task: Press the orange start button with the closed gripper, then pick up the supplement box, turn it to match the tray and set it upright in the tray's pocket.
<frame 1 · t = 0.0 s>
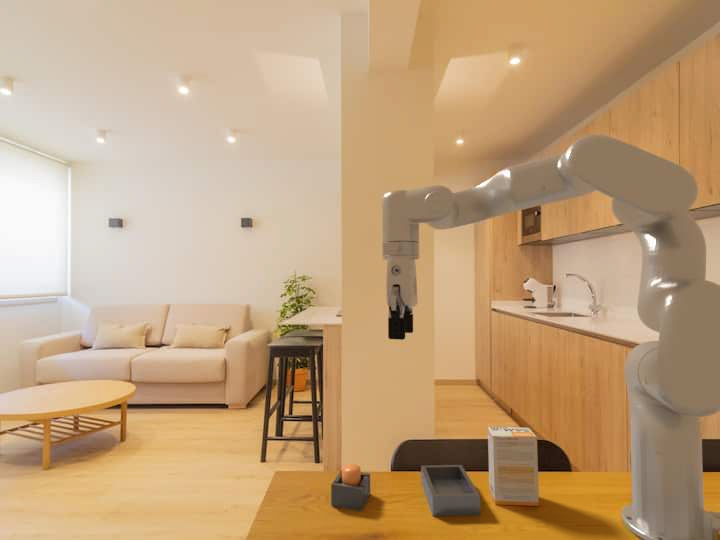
hand: (401, 335, 79), 31 cm above the table, tool pointing down, fingers open, 9 cm apart
start button: (351, 478, 75), point 4 cm above the table, slide at 0.0 cm
supplement box: (512, 500, 75), on the table
button housing: (351, 499, 75), on the table
tray: (448, 497, 75), on the table
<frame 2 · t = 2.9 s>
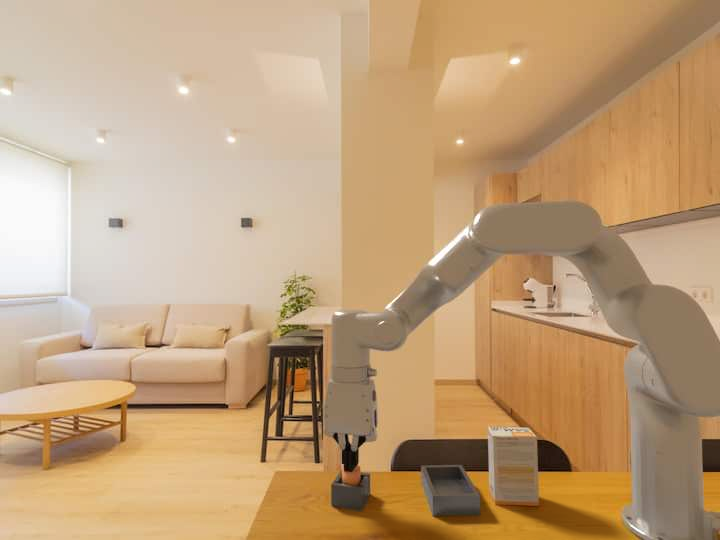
hand: (350, 468, 75), 6 cm above the table, tool pointing down, fingers closed
start button: (351, 478, 75), point 4 cm above the table, slide at 0.0 cm, touching gripper
everything else where it was.
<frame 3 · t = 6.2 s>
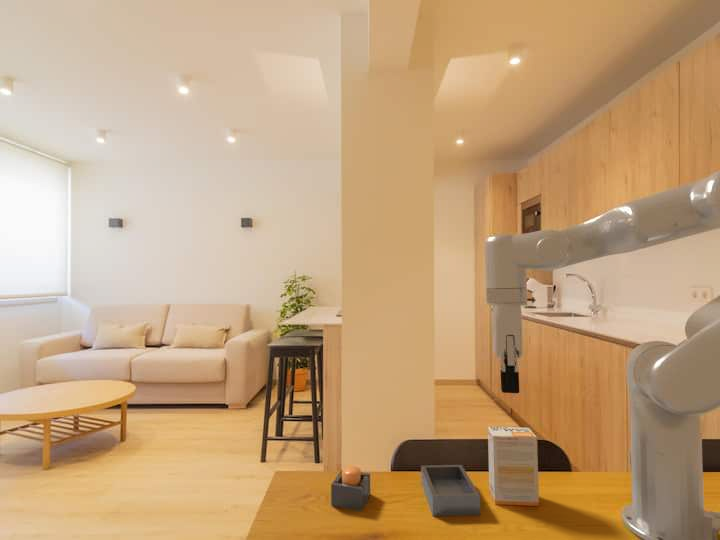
hand: (510, 391, 75), 21 cm above the table, tool pointing down, fingers closed
start button: (351, 481, 75), point 4 cm above the table, slide at 0.5 cm
everything else where it was.
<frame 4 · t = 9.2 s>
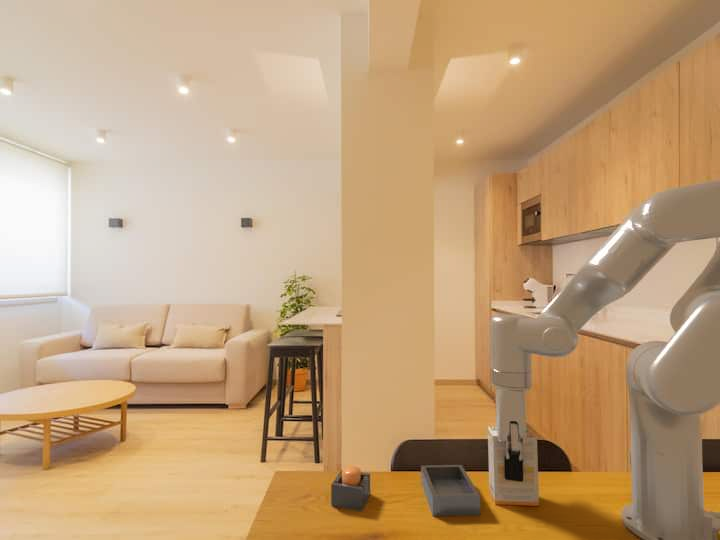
hand: (512, 471, 75), 5 cm above the table, tool pointing down, fingers closed on supplement box, 5 cm apart
supplement box: (512, 500, 75), on the table, touching gripper
everything else where it was.
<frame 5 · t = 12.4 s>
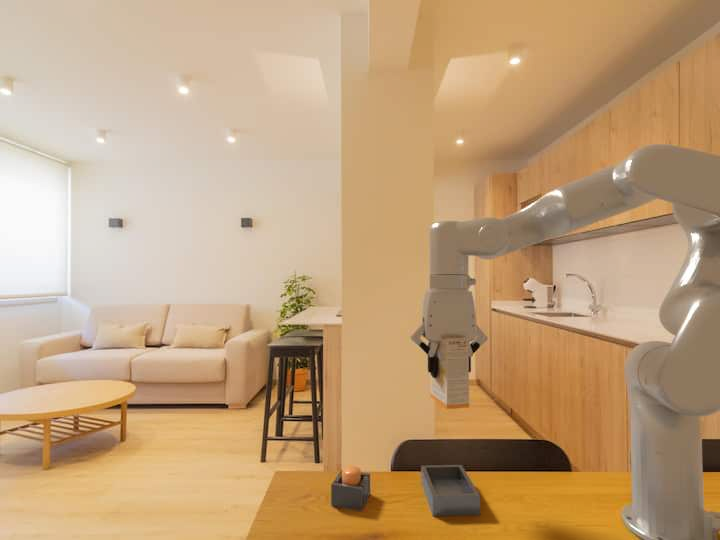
hand: (449, 375, 76), 24 cm above the table, tool pointing down, fingers closed on supplement box, 5 cm apart
supplement box: (449, 403, 76), point 18 cm above the table, touching gripper
everything else where it was.
when the fingers open (8 cm above the table, at t = 15.8 s): supplement box drops 1 cm, resting on tray.
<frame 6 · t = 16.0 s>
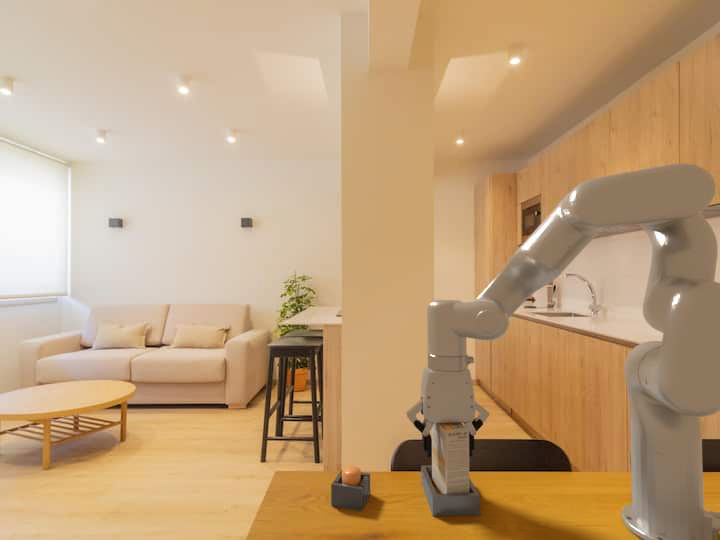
hand: (448, 453, 76), 9 cm above the table, tool pointing down, fingers open, 7 cm apart
supplement box: (450, 490, 75), point 1 cm above the table, touching tray
everything else where it was.
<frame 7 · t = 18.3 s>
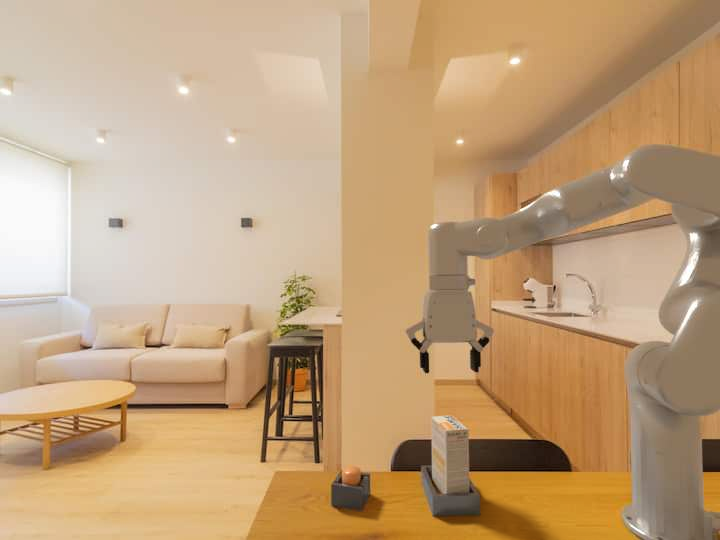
hand: (450, 371, 76), 24 cm above the table, tool pointing down, fingers open, 9 cm apart
nothing on the table moved.
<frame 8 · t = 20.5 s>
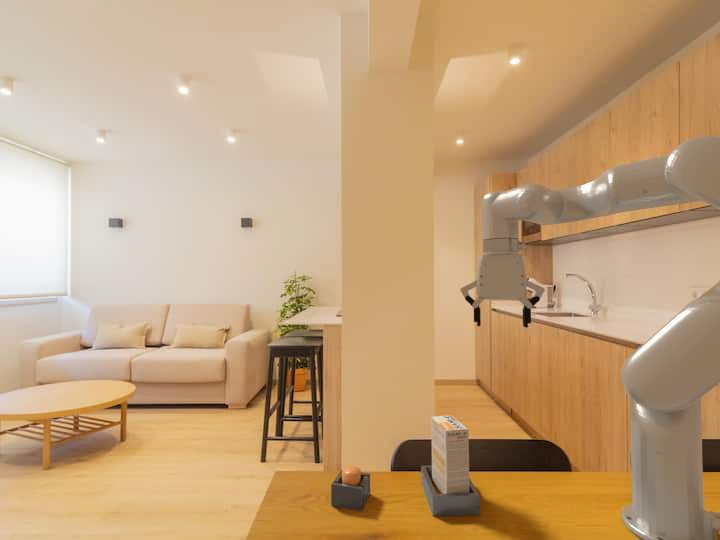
hand: (501, 326, 85), 32 cm above the table, tool pointing down, fingers open, 9 cm apart
nothing on the table moved.
at the end: supplement box 0.3 cm off-centre on the tray, point 1.3 cm above the tray's base; supplement box tilted 0°; the gripper is holding nothing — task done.
